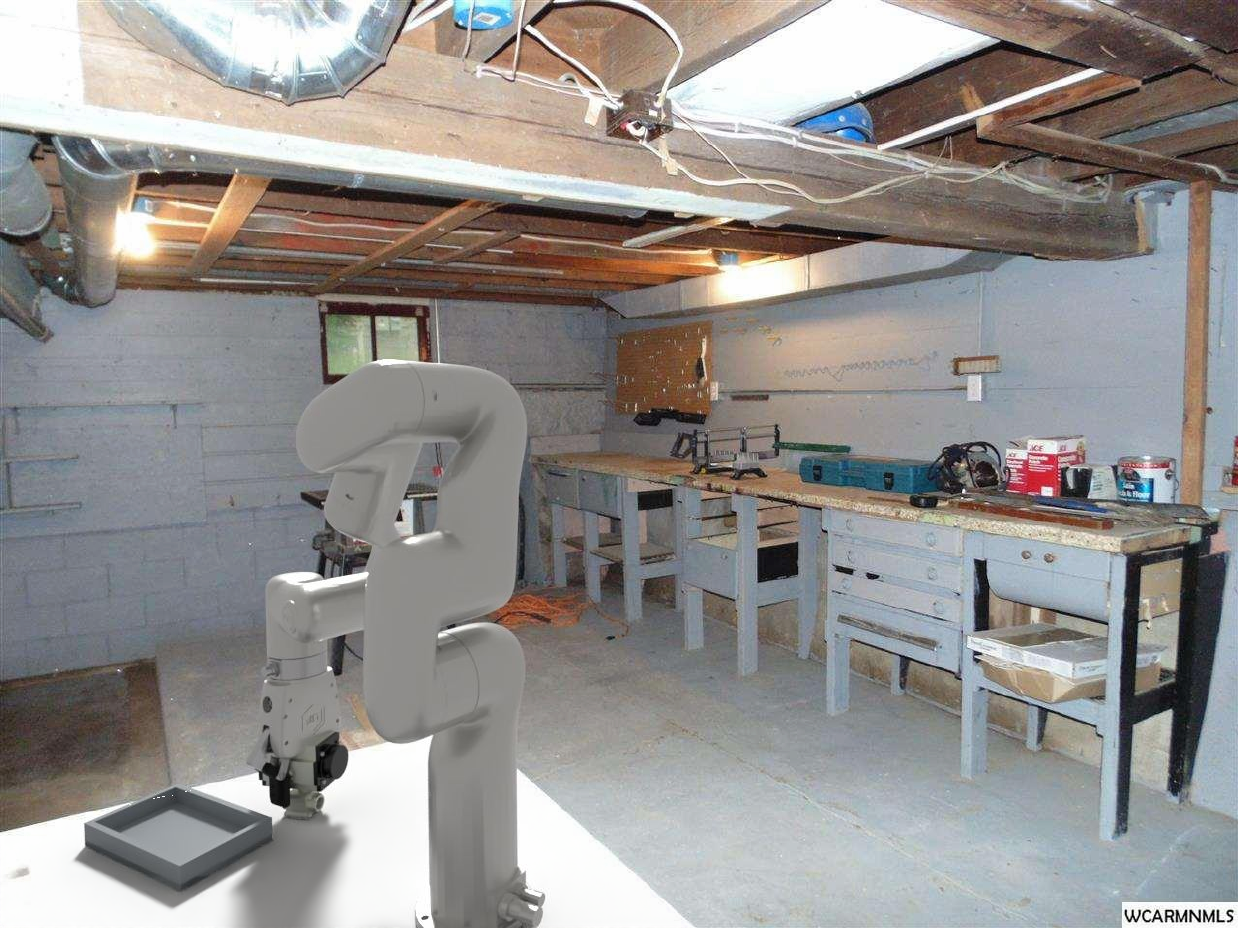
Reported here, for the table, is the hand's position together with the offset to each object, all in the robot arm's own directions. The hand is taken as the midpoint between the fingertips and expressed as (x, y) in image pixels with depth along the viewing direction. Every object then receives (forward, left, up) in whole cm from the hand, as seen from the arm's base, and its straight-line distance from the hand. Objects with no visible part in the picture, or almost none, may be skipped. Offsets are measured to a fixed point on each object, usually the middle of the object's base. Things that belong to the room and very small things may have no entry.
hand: (300, 792), depth 102 cm
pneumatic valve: (0, 0, -3) cm, 3 cm away
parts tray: (+8, +12, -3) cm, 15 cm away
